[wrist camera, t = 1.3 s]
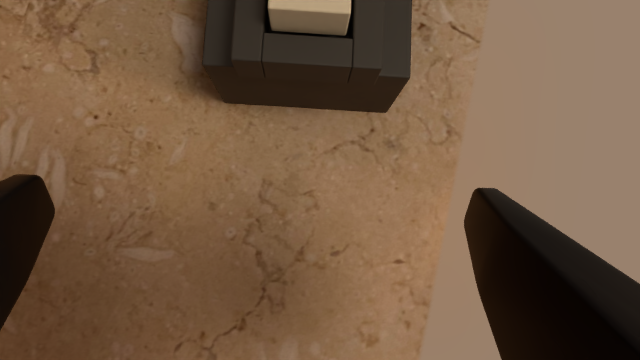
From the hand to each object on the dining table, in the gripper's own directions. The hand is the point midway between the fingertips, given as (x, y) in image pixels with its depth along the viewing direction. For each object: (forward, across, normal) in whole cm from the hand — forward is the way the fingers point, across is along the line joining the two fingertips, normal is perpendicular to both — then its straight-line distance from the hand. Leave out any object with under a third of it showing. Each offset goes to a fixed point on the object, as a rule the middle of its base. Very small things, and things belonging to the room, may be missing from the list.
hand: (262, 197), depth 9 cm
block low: (+18, -1, 0) cm, 18 cm away
